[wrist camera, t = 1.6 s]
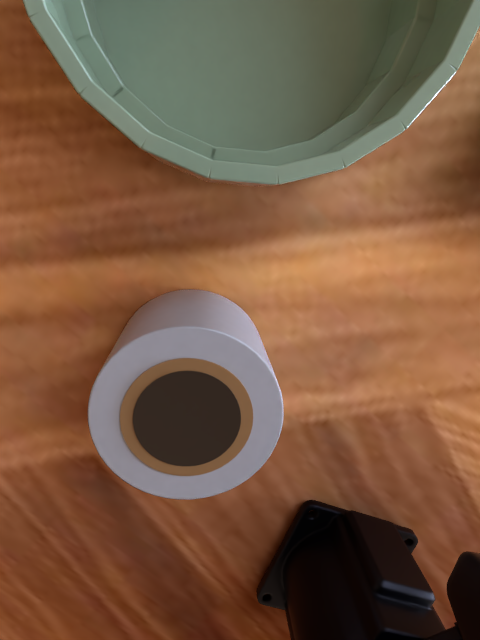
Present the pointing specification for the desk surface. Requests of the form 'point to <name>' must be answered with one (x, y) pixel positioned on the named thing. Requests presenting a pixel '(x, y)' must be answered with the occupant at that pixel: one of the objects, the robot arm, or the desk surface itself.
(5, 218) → the desk surface
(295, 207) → the desk surface
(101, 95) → the bowl
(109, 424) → the tape roll
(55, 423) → the desk surface
